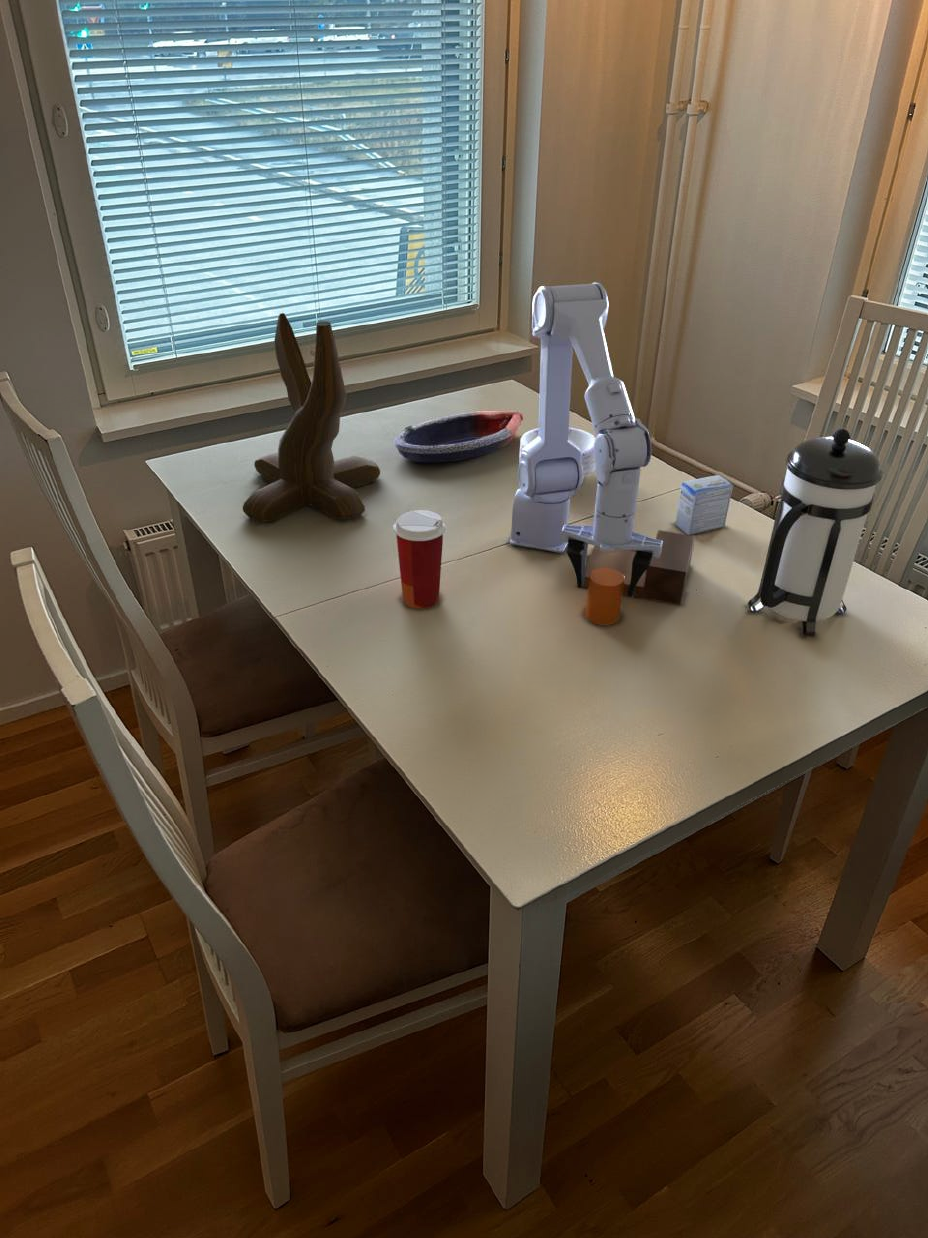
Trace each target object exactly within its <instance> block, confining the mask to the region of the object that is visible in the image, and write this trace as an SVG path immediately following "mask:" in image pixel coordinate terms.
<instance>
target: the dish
mask: <svg viewBox="0 0 928 1238" xmlns="http://www.w3.org/2000/svg"><path fill="white" fill-rule="evenodd" d="M523 420H524V416H523V413H520V412H519V411H506V410H505V411H503V410H488V411H487V410H483V411H481V410H480V411H470V412H462V413H456V414H451V415H446V416H442V417H438V418H434V419H431V420H427V421H424V422H421V423H418V424H415V425H407V426H406V427H405V428H404V429H403V430H402V431H401V432H400V433H398V435H397V436H396V438H395V439H394V447H395V448H396V449H397V451H398V453H399V454H400V455H401V456H402V457H403V458H404V459H406V460H408V461H411V462H418V463H447V462H456V461H462V460H468V459H472V458H476V457H480V456H483V455H486V454H490V453H492V452H494V451H497V450H500V449H502V448H504V447H505V446H507V445H508V444H509V443H510V442H511V441H512V440H513V439H514V438H515V435H516V434H517V432H518V431H519V429H520V427H521V426H522V421H523Z"/></svg>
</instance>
